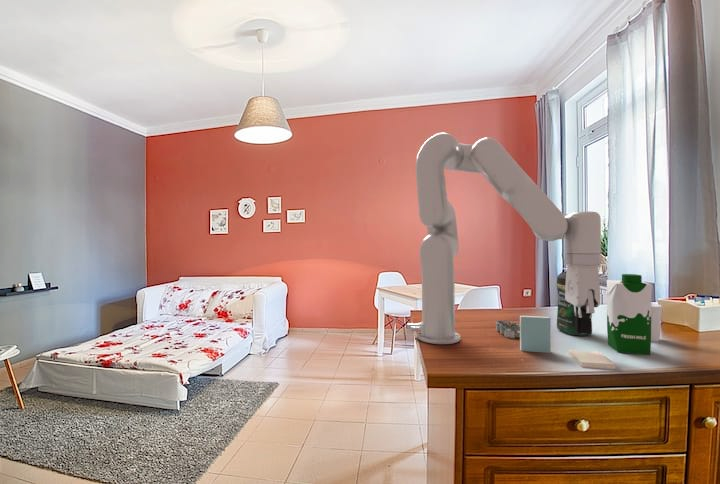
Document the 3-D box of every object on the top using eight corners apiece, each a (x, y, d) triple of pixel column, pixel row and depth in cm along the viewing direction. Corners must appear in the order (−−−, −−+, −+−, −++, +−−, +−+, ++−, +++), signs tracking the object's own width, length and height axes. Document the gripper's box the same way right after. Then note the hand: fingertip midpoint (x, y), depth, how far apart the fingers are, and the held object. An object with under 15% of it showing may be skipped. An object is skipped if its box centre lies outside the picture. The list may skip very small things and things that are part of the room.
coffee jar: (552, 328, 112) (551, 271, 112) (575, 328, 113) (575, 271, 113) (571, 337, 103) (571, 275, 103) (597, 336, 103) (597, 274, 103)
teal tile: (521, 350, 91) (521, 316, 91) (520, 348, 93) (519, 315, 93) (550, 352, 90) (550, 318, 89) (548, 350, 91) (548, 316, 91)
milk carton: (614, 353, 88) (614, 275, 88) (602, 342, 97) (602, 272, 97) (656, 356, 86) (656, 276, 85) (640, 345, 94) (640, 272, 94)
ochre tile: (568, 356, 88) (581, 368, 80) (567, 349, 88) (581, 362, 80) (599, 357, 87) (616, 371, 78) (599, 351, 87) (616, 364, 78)
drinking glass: (662, 343, 96) (662, 307, 96) (632, 339, 100) (632, 305, 100) (660, 337, 101) (660, 303, 101) (631, 334, 105) (631, 301, 105)
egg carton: (530, 339, 102) (530, 326, 102) (504, 339, 103) (504, 325, 103) (516, 329, 112) (516, 317, 112) (493, 329, 113) (493, 317, 113)
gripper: (556, 258, 96) (557, 324, 96) (577, 262, 81) (577, 340, 81) (587, 258, 94) (587, 325, 94) (613, 262, 79) (614, 342, 80)
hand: (583, 332), depth 88 cm, fingers closed
